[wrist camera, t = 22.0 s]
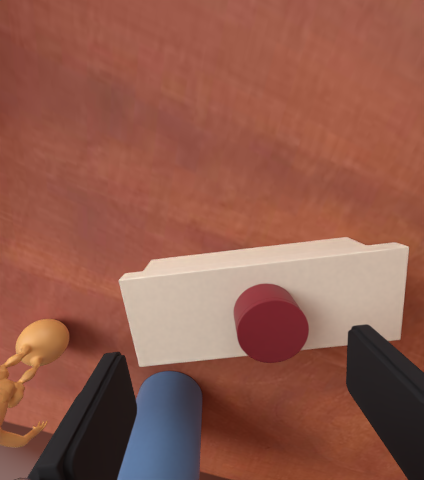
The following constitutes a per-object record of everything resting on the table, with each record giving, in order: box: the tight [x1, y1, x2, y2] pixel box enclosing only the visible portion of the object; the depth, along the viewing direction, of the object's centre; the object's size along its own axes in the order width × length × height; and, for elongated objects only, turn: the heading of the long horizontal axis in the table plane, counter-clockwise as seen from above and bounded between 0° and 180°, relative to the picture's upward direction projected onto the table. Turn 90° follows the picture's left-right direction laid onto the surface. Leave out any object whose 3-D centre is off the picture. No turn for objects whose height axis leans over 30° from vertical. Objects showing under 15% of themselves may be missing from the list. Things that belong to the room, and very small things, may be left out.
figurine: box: [0, 319, 69, 447], centre depth 17 cm, size 8×6×12 cm
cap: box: [234, 283, 309, 363], centre depth 15 cm, size 4×4×2 cm
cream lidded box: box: [119, 237, 409, 367], centre depth 19 cm, size 19×7×6 cm, turn 97°
